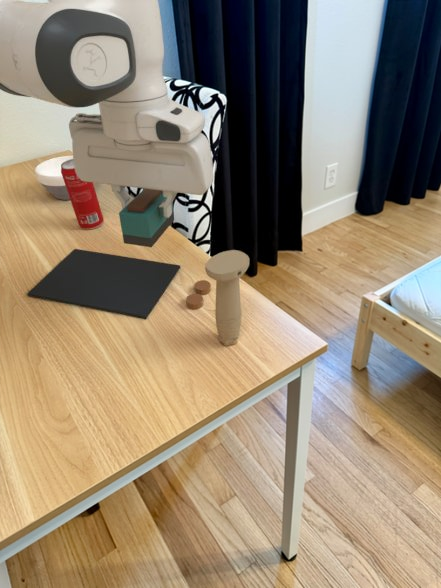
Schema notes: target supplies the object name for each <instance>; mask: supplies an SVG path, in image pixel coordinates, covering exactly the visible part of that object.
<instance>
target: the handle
mask: <svg viewBox="0 0 441 588" xmlns="http://www.w3.org/2000/svg"><path fill="white" fill-rule="evenodd" d="M249 267H250V257H249V255H248V254H246V253H245V252H243V251H242V250H236V249H230V250H225V251H222V252H219V253H217V254H215V255H213V256H211V257H210V258H209V259H207V261H206V262H205V264H204V268H205V274H206V275H207V276H208V277H209V278H210V279H212V280H214V281H215V282H216V283H215V307H214V308H215V309H214V310H215V311H214V313H215V314H214V315H215V326H216V330H217V331H216V332H217V336H218V338H217V339H218V341H219V342H220V343H222V344H223V345H224V346H226V347H227V346H230V345H232V346H233V345H236V344H237V343H238V339H239V337H240V331H241V326H242V301H241V288H240V278H242V276H243V275H245V273H246V272H247V270H248V269H249Z"/></svg>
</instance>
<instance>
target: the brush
mask: <svg viewBox="0 0 441 588" xmlns="http://www.w3.org/2000/svg"><path fill="white" fill-rule="evenodd" d="M133 198H134V199H133V200H132V201H131V202H130V203H129V204H128V205H127V206H126V207H125V208H124V209H121V211H119V212H118V215H119V216H118V217H119V223H120V227H121V234H122V239H123V244H126V245H133V246H139V247H146V248H153V247H154V245H156V243H157V241H159V239H160V238H161V237H162V236H163V234H164V233H165V232H166V231H167V229H169V227H170V226H171V224H172V223H173V222H174V221H175V212H174V201H173V202H172V203H171V205H172V214H171V216H170V217H169V218H166V217H160V216H159V212H158V206H159V205H160V204H161V203H162V202H165V201H166V199H167V197H164V196H163V191H161V190H153V189H144V188H143V190H141V191H140V192H139V193H138V194H137V195H136V196H135V197H133Z"/></svg>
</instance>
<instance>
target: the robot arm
mask: <svg viewBox="0 0 441 588" xmlns="http://www.w3.org/2000/svg"><path fill="white" fill-rule="evenodd" d="M164 58H165V45H164V34H163V23H162V17H161V10H160V4H159V0H47V2H34V1H33V2H32V1H23V0H0V90H1V91H2V92H4V93H7V94H9V95H13V96H18V97H25V98H33V99H36V100H40V101H44V102H47V103H51V104H55V105H60V106H63V107H68V108H74V109H75V108H76V109H79V108H88V107H92V106H94V105H96V104H98V109H99V112H100V113H99V114H95V113H93V114H87V113H83V112H82V113H81V112H80V113H79V112H77V113H76V114H75V115H74V116H73V117H71V119H70V120H69V122H68V130H69V133H70V138H71V144H72V145H71V146H72V147H71V148H72V156H73V160H74V167H75V172H76V174H77V176H78V177H79V178H80V179H81V180H82V181H85V182H93V184H104V185H110V186H111V191H112V192H113V194H114V195H115V196H116V198H117V199H118V201H119V202H120V203H121V208H122V209H121V210H123V209H124V208H125V207H126V206H127V205H128V204H129V203H130V202H131V201H132V200H133V199H134V198H135V197H131V195H130V194H129V192H128V190H127V189H126V187H129V188H137V189H143V190H144V189H153V190H161V191H163V196H164V197H167V199H166V201H165V202H162V203H161V204H160V205H159V206H158V212H159V216H160V217H166V218H169V217H170V216H171V214H172V205H171V203H172V202H173V203H174V201H175V198H176V197H177V194H178V193H180V194H188V195H196V196H203V195H204V194H205V193H206V192H207V191H209V189H210V188H211V186H212V185H213V183H214V163H213V155H212V148H211V145H210V141H209V140H208V138H207V136H206V135H205V134H204V133H202V131H203V129H204V128H205V125H206V118H205V116H204V114H203V113H201V112H200V111H197V110H196V109H193V108H190V107H188V106H185V105H183V104H181V103H180V102H179V103H178V102H177V101H175V100H172V99H171V98H169V96H168V95H169V94H168V86H167V84H166V81H165V77H164V71H163V65H164Z"/></svg>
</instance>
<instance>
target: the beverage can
mask: <svg viewBox="0 0 441 588" xmlns="http://www.w3.org/2000/svg"><path fill="white" fill-rule="evenodd" d="M61 174H62V177H63V179H64V182H65V185H66V188H67V191H68V194H69V197H70V200H69V201H70V203H71V206H72V209H73V212H74V215H75V219H76V221H77V224H78V226H79V227H80V228H81V229H82V230H94V229H97V228H98V227H100V226H102V225H103V223H104V216H103V212H102V209H101V205H100V202H99V199H98V196H97V195H98V194H97V192H96V189H95V185H94V182H85V181H82V180H81V179H80V178H79V177H78V176H77V174H76V172H75V167H74V160H73V159H71V160H67V161H65V162H63V163H62V164H61Z"/></svg>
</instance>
